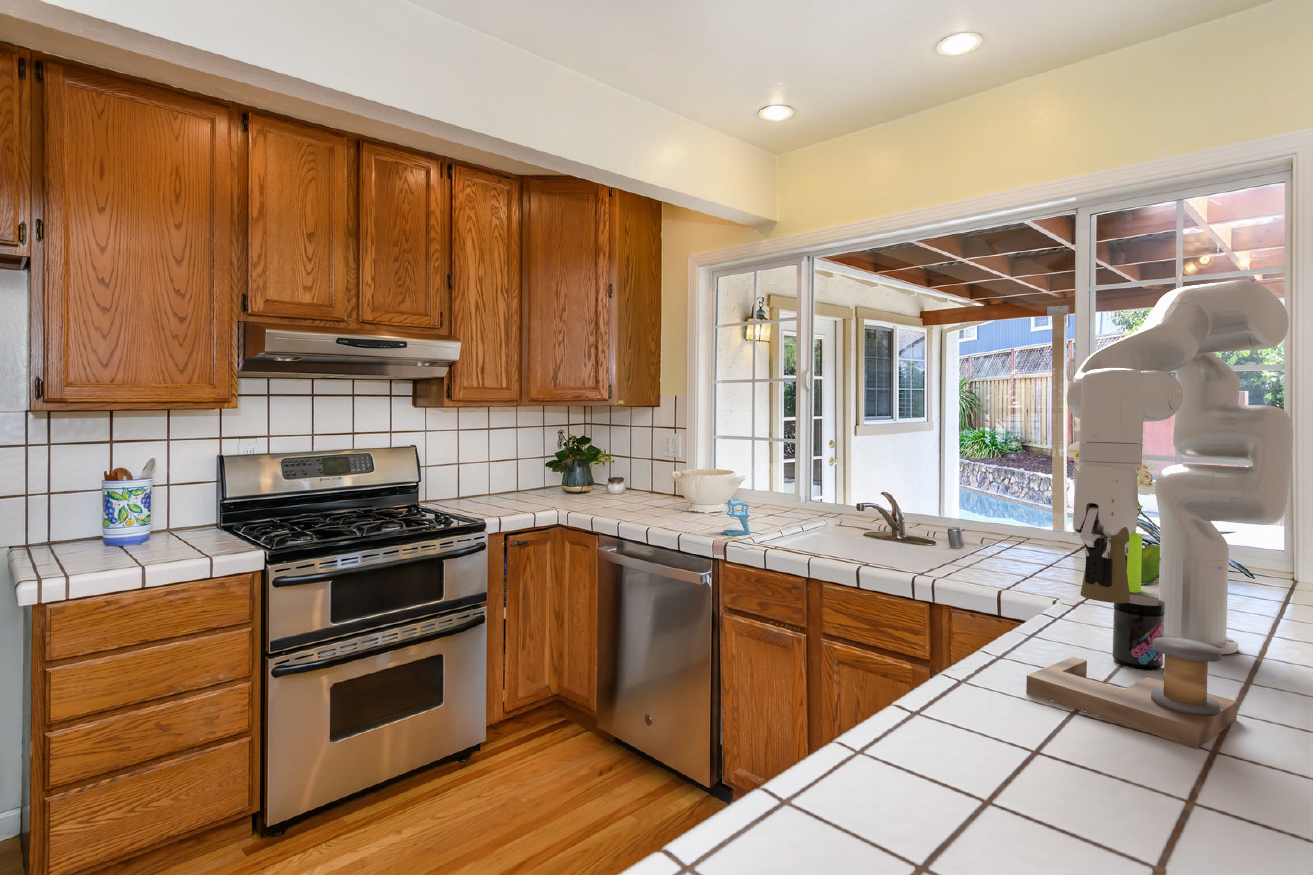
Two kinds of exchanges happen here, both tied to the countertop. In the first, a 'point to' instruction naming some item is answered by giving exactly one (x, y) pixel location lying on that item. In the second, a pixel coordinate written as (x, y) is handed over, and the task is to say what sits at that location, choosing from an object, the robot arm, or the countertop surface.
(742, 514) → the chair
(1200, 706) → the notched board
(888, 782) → the countertop surface
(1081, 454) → the robot arm
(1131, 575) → the soap dispenser
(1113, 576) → the olive pepper mill
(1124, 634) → the supplement container
